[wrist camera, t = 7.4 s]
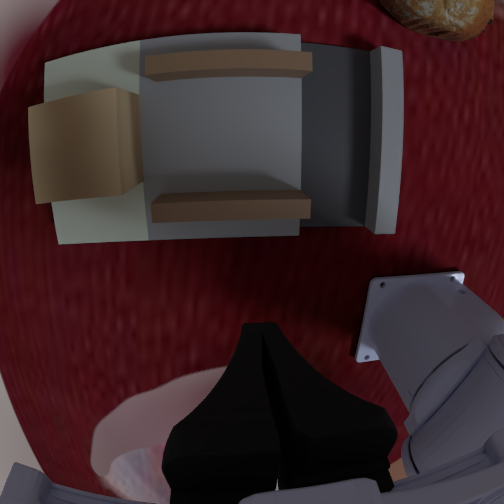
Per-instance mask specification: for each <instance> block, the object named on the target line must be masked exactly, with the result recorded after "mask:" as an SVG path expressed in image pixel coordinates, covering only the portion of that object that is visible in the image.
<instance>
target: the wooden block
mask: <svg viewBox="0 0 504 504" xmlns="http://www.w3.org/2000/svg"><path fill="white" fill-rule="evenodd" d="M28 123H29V144H30V158H31V169H32V178H33V186H34V194H35V201H36V204H41V203H49V202H58V201H67V200H76V199H86V198H97V197H108V196H120V195H123V194H125V193H126V192H128V191H129V190H131V189H132V188H134V187H135V186H137V185H139V184H140V183H142V182H143V181H144V176H143V160H142V141H141V110H140V95H138V94H135V93H133V92H130V91H127V90H124V89H121V88H118V87H114V88H108V89H103V90H97V91H92V92H87V93H82V94H78V95H73V96H69V97H65V98H61V99H57V100H53V101H49V102H45V103H42V104H38V105H34V106H31V107H28Z"/></svg>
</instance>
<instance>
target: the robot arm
mask: <svg viewBox="0 0 504 504" xmlns="http://www.w3.org/2000/svg"><path fill="white" fill-rule="evenodd" d="M451 277H452V278H451ZM450 278H451V279H450ZM463 280H464V273H462V272H461V271H455V272H444V273H431V274H419V275H405V276H391V277H376V278H373V279H372V280H371V281H370V283H369V289H368V295H367V301H366V306H365V312H364V317H363V322H362V327H361V332H360V337H359V341H358V346H357V351H356V355H355V359H356V361H357V362H366V361H372V360H379V359H380V361H381V363H382V364H383V366H384V368H385V370H386V371H387V373H388V375H389V377H390V378H391V380H392V382H393V384H394V386H395V387H396V389H397V391H398V393H399V395H400V396H401V398H402V400H403V402H404V404H405V405H406V407H407V409H408V411H409V413H410V415H409V417H408V418H407V419H406V421H405V422H404V424H405V426H406V428H407V430H408V432H409V434H410V435H409V436H408V437H407V438H406V440H405V441H404V443H403V445H402V461H403V465H404V469H405V472H406V475H407V476H408V477H407V478H404V479H401V480H398V481H395V482H393V481H392V478H391V476H390V473H389V471H388V469H389V468H390V463H389V460H388V458H387V456H388V455H389V453H390V451H391V449H392V448H393V446H394V444H395V442H396V440H397V437H398V432H397V429H396V427H395V425H394V423H393V421H392V419H391V418H390V416H389V415H388V413H387V412H386V410H385V408H383V407H380V406H378V405H375V404H372V403H370V402H367V401H365V400H363V399H360V398H358V397H356V396H354V395H352V394H350V393H349V392H347V391H345V390H343V389H342V388H340V387H339V386H337V385H335V384H334V383H332V382H331V381H329V380H328V379H327V378H325V377H324V376H323V375H322V374H320V373H319V372H318V371H317V370H316V369H314V368H313V367H312V366H311V365H310V364H309V363H308V362H307V361H306V360H305V359H304V358H303V357H302V356H301V355H300V354H299V353H298V351H297V350H296V349H295V348H294V347H293V346H292V344H291V343H290V342H289V341H288V339H287V338H286V337H285V335H284V334H283V332H282V331H281V330H280V328H279V326H278V325H277V324H276V323H275V322H264V323H244V324H243V325H242V330H241V335H240V339H239V342H238V345H237V347H236V350H235V352H234V355H233V357H232V359H231V361H230V363H229V365H228V366H227V368H226V370H225V372H224V373H223V375H222V377H221V378H220V380H219V381H218V383H217V384H216V385H215V387H214V388H213V389H212V391H211V392H210V393H209V394H208V395H207V397H206V398H205V399H204V400H203V401H202V402H201V403H200V404H199V405H198V406H197V407H196V408H195V409H194V410H193V411H192V412H191V413H190V414H189V415H188V416H186V417H185V418H184V419H183V420H181V421H180V422H179V423H178V424H176V425H175V426H174V427H173V429H172V431H171V433H170V435H169V438H168V440H167V443H166V446H165V449H164V453H163V460H162V472H163V474H164V476H165V478H166V480H167V482H168V484H169V486H170V488H171V496H170V504H504V321H503V319H502V318H501V317H500V316H499V315H498V314H497V313H496V312H495V311H494V310H493V309H492V308H491V307H489V306H488V305H487V304H486V303H485V302H484V301H482V300H481V299H480V298H479V297H478V296H477V295H475V294H474V293H473V292H472V291H471V290H469V289H468V288H467V287H466V286H464V285H463ZM382 282H384V283H383V285H382V286H380V284H381V283H382ZM367 355H368V356H367ZM365 356H366V357H365ZM277 479H278V489H279V490H277V491H275V489H276V484H277ZM0 504H155V503H146V502H139V501H132V500H125V499H119V498H114V497H108V496H103V495H98V494H94V493H89V492H85V491H81V490H77V489H73V488H69V487H65V486H62V485H58V484H55V483H52V482H51V481H50V479H49V478H48V477H47V476H46V475H45V474H44V473H42V472H41V471H39V470H36V469H34V468H31V467H28V466H25V465H22V464H20V463H17V462H15V463H14V464H13V466H12V469H11V471H10V474H9V476H8V478H7V481H6V483H5V486H4V489H3V491H2V494H1V496H0Z"/></svg>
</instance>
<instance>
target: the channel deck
mask: <svg viewBox="0 0 504 504" xmlns="http://www.w3.org/2000/svg"><path fill="white" fill-rule="evenodd" d="M114 87H118V88H121V89H124V90H127V91H130V92H133V93H135V94H138V95H140V110H141V141H142V160H143V176H144V181H143V182H142V183H140V184H139V185H137V186H135V187H134V188H132V189H131V190H129V191H128V192H126V193H125V194H123V195H120V196H108V197H97V198H86V199H76V200H67V201H58V202H51V203H52V209H53V216H54V222H55V228H56V233H57V238H58V243H59V244H74V243H95V242H117V241H141V240H166V239H194V238H225V237H259V236H298V235H299V227H328V226H365V227H367V228H368V229H369V230H370V231H372V232H373V233H374V234H395V227H396V219H397V211H398V201H399V191H400V179H401V165H402V148H403V112H404V97H403V62H402V51H400V50H396V49H392V48H387V47H382V46H380V47H378V48H376V49H374V50H372V51H365V50H359V49H353V48H346V47H339V46H331V45H322V44H313V43H301V35H299V34H284V33H258V32H230V33H205V34H190V35H179V36H169V37H161V38H153V39H146V40H139V41H133V42H128V43H122V44H117V45H112V46H107V47H102V48H98V49H93V50H89V51H85V52H81V53H77V54H73V55H70V56H66V57H63V58H59V59H56V60H52V61H49V62H46V63H45V75H44V103H45V102H49V101H53V100H57V99H61V98H65V97H69V96H73V95H78V94H82V93H87V92H92V91H97V90H103V89H108V88H114Z"/></svg>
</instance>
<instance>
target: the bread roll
mask: <svg viewBox="0 0 504 504" xmlns="http://www.w3.org/2000/svg"><path fill="white" fill-rule="evenodd" d="M378 1H379V2H380V3H381V5H382V6H383V7H384V8H385V9H386V10H387V12H388V13H390V14H391V15H392V16H393V17H394V18H395V19H396V20H397V21H398V22H400V23H401V24H402V25H404V26H405V27H407V28H408V29H410V30H413V31H417V32H418V33H421V34H425V35H427V36H431V37H435V38H438V39H442V40H446V41H449V40H451V41H458V42H461V41H465V40H469V39H471V38H475V37H476V36H478V35H479V34H480V33H481V32H485V31H484V30H485V27H486V25H487V24H491V23H492V21H493V8H494V1H495V0H378Z"/></svg>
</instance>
